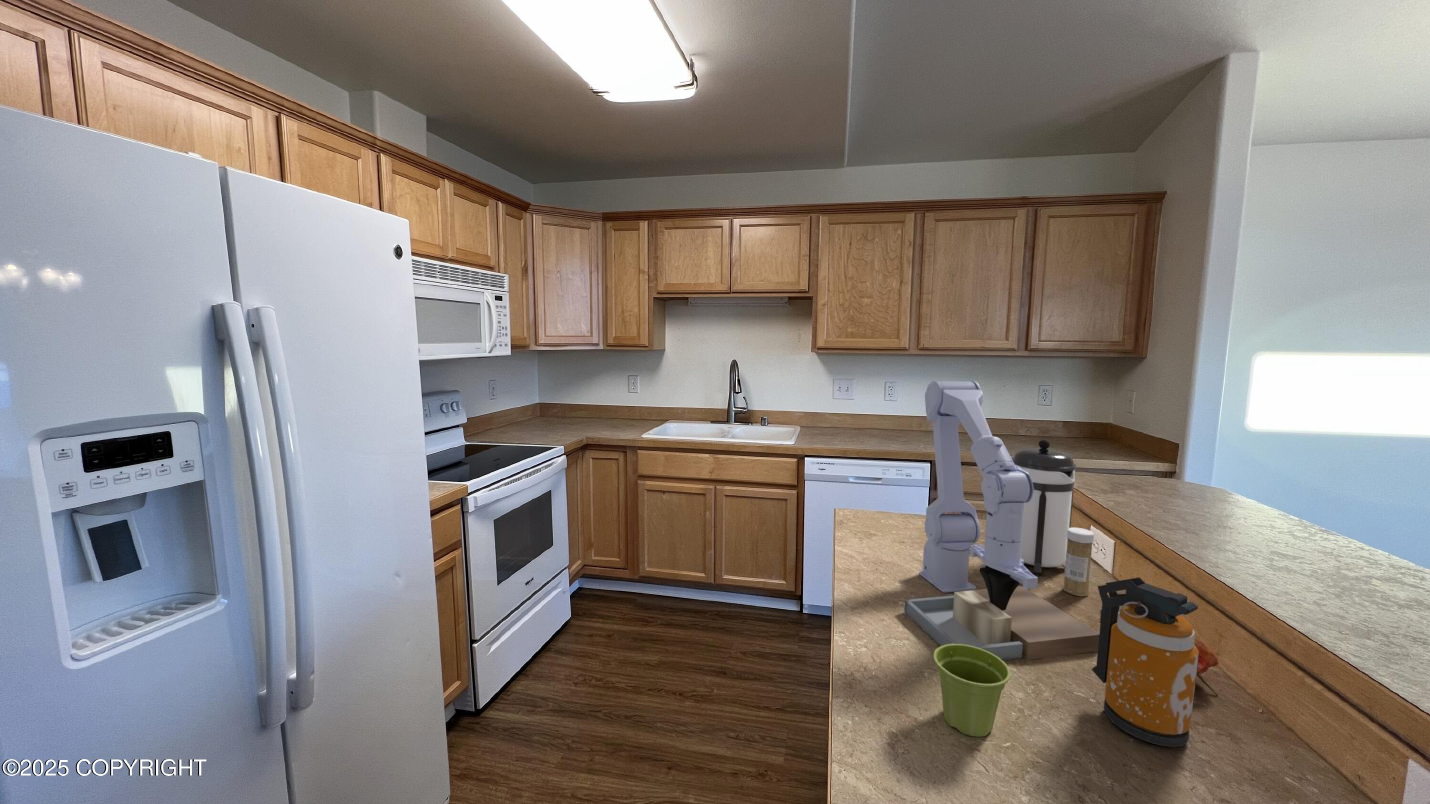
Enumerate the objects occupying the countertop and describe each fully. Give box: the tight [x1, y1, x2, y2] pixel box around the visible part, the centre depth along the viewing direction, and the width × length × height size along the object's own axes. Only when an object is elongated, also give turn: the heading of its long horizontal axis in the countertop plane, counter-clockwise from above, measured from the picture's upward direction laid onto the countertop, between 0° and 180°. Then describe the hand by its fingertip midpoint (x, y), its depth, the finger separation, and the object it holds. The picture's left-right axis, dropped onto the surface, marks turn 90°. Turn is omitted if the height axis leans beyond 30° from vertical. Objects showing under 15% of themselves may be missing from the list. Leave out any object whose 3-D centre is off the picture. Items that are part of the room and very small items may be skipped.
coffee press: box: [1011, 439, 1077, 577], centre depth 123 cm, size 17×16×30 cm
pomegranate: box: [1194, 637, 1220, 697], centre depth 80 cm, size 7×7×10 cm
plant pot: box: [933, 644, 1011, 738], centre depth 72 cm, size 9×9×9 cm
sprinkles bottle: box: [1062, 527, 1095, 597], centre depth 109 cm, size 5×5×14 cm
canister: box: [1091, 576, 1199, 747], centre depth 71 cm, size 9×11×20 cm
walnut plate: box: [958, 585, 1100, 660], centre depth 96 cm, size 18×14×3 cm
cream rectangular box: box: [953, 591, 1012, 645], centre depth 94 cm, size 10×5×4 cm
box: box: [904, 595, 1023, 661], centre depth 94 cm, size 17×11×2 cm
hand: (998, 608), depth 95 cm, fingers closed
